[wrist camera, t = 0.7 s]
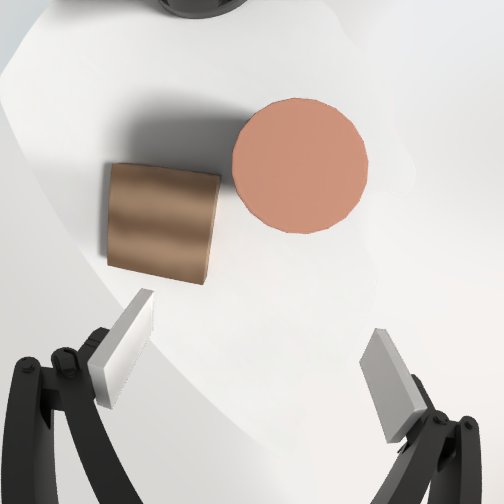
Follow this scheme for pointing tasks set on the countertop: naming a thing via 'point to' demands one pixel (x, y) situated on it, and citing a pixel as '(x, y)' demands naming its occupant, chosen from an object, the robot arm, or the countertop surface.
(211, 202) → the walnut riser
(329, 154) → the coffee jar
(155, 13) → the countertop surface
